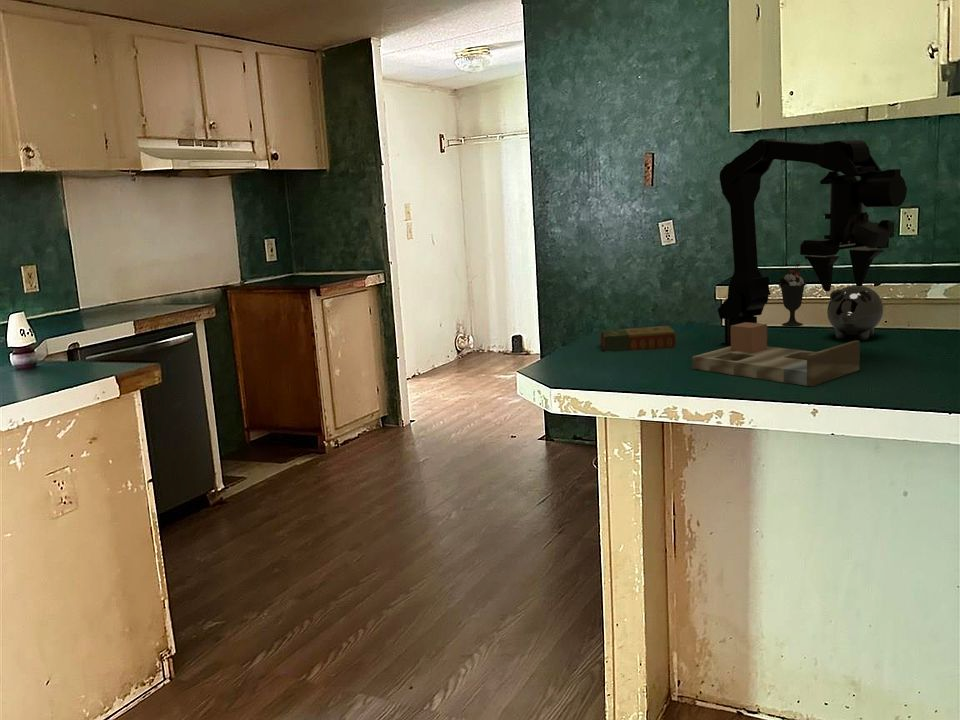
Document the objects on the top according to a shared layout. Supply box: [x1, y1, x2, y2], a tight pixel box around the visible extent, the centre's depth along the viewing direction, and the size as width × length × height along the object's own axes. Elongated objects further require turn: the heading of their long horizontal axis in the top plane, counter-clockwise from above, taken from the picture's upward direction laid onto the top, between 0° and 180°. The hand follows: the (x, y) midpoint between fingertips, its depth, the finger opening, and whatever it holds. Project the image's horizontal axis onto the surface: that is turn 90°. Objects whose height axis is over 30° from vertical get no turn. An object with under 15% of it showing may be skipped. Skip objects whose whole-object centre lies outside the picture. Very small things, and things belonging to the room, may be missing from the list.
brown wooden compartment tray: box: [692, 339, 861, 387], centre depth 158 cm, size 26×16×6 cm, turn 38°
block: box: [731, 322, 768, 353], centre depth 166 cm, size 5×5×5 cm
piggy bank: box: [826, 284, 884, 341], centre depth 182 cm, size 11×15×12 cm
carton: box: [600, 325, 676, 352], centre depth 190 cm, size 8×16×4 cm, turn 87°
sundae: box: [777, 263, 808, 328], centre depth 202 cm, size 7×7×15 cm
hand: (843, 288), depth 161 cm, fingers open, 9 cm apart
